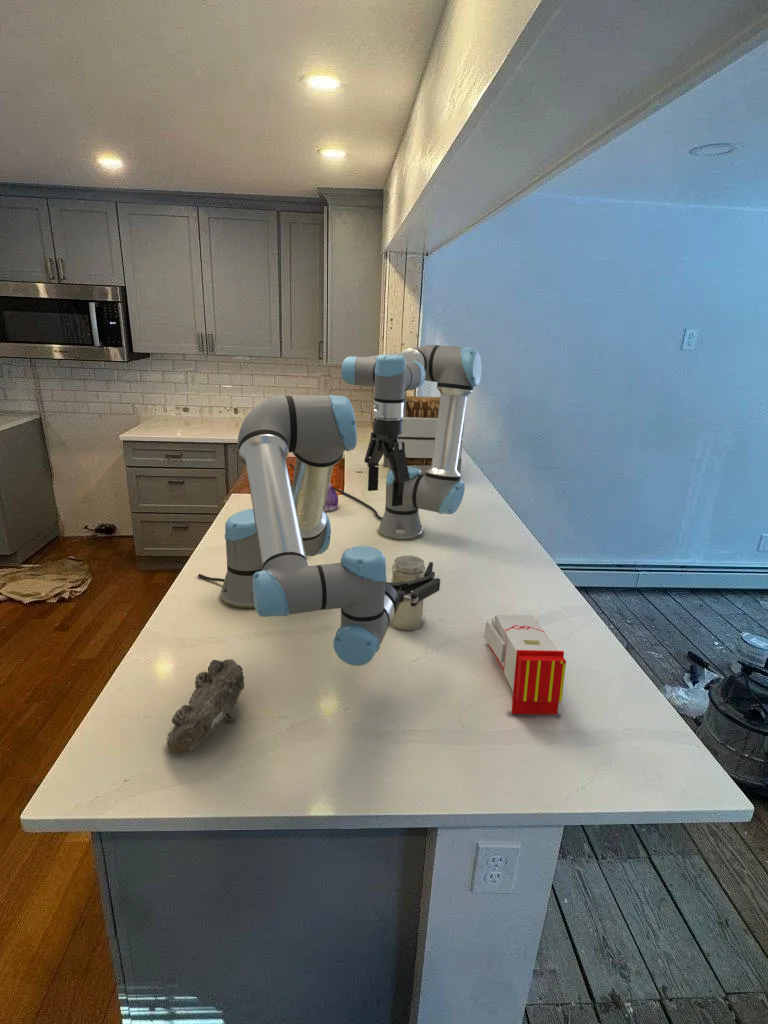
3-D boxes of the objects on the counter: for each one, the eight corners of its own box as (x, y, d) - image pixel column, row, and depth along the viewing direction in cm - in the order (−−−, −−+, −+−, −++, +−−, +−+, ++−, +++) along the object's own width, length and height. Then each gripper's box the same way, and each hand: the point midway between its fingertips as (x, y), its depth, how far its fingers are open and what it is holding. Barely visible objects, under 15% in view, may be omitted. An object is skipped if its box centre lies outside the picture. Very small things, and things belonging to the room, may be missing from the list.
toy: (530, 600, 137) (574, 657, 108) (525, 651, 140) (567, 720, 111) (480, 599, 137) (511, 656, 107) (477, 651, 139) (506, 719, 110)
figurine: (320, 513, 215) (320, 475, 210) (311, 505, 224) (311, 468, 219) (343, 510, 219) (344, 473, 214) (333, 502, 228) (333, 466, 223)
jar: (428, 625, 143) (432, 564, 137) (401, 633, 139) (405, 571, 133) (409, 610, 149) (412, 552, 144) (383, 618, 145) (385, 558, 139)
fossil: (192, 660, 117) (244, 628, 112) (224, 691, 120) (276, 661, 115) (142, 746, 98) (202, 712, 93) (182, 779, 101) (242, 748, 96)
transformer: (382, 463, 289) (386, 382, 275) (445, 464, 293) (451, 384, 279) (390, 482, 257) (394, 392, 243) (460, 483, 261) (468, 394, 247)
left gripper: (315, 613, 113) (348, 570, 132) (439, 635, 107) (454, 586, 127) (315, 580, 110) (349, 540, 130) (442, 600, 105) (457, 555, 124)
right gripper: (353, 410, 152) (351, 485, 159) (399, 428, 132) (395, 514, 139) (378, 409, 156) (375, 483, 163) (426, 426, 135) (421, 510, 142)
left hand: (401, 563), depth 128 cm, fingers open, 13 cm apart
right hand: (384, 497), depth 151 cm, fingers open, 13 cm apart
